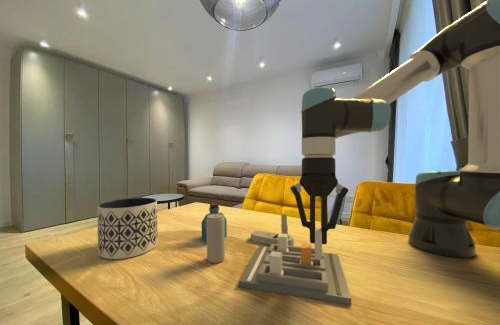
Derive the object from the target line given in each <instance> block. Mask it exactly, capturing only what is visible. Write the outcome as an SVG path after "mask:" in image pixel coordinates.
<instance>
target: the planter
mask: <svg viewBox="0 0 500 325" xmlns="http://www.w3.org/2000/svg"><path fill="white" fill-rule="evenodd" d="M96 211H97V212H96V213H97V254H98V256H99V257H101V258H103V259H106V260H125V259H130V258H134V257H137V256H141V255H144V254H146V253H148V252H150V251H152V250H153V249H155V247H156V246H157V245H158V240H159V238H158V231H159V230H158V200H157V199H156V198H153V197H130V198H119V199H114V200H109V201H104V202H102V203H99V204H97V210H96Z"/></svg>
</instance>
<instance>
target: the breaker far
mask: <svg viewBox="0 0 500 325" xmlns="http://www.w3.org/2000/svg"><path fill="white" fill-rule="evenodd" d="M277 234H278V249H277V250H281V251H289V249H288V237H287V234H282V233H281V232H278V233H277Z"/></svg>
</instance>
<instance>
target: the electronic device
mask: <svg viewBox="0 0 500 325" xmlns="http://www.w3.org/2000/svg"><path fill="white" fill-rule="evenodd" d="M280 218H281V220H280V221H281V224H280V226H281V227H280V228H281V234H287V237H288V246H295V245H294V244H295V241H294V240H295V238H294V237H293V236H292V235H291V234H289V231H288V230H289V229H288V228H289V226H288V215H287V214H285V213H284V214H283V213H282V214H281V215H280ZM278 234H279V233H277V232H271V231H265V230H255V231H252V232H250V241H251V242H254V243H258V244H262V245H268V246H271V244H278Z"/></svg>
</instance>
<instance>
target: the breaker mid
mask: <svg viewBox="0 0 500 325" xmlns="http://www.w3.org/2000/svg"><path fill="white" fill-rule="evenodd" d="M300 247H301V260H300V264H308V265H313V261H311V248H312V244H306V243H301V244H300Z"/></svg>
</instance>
